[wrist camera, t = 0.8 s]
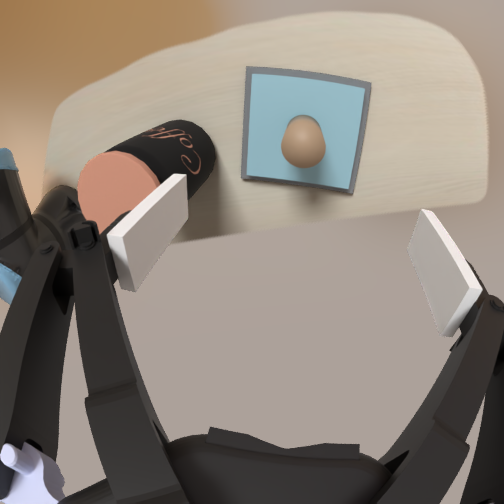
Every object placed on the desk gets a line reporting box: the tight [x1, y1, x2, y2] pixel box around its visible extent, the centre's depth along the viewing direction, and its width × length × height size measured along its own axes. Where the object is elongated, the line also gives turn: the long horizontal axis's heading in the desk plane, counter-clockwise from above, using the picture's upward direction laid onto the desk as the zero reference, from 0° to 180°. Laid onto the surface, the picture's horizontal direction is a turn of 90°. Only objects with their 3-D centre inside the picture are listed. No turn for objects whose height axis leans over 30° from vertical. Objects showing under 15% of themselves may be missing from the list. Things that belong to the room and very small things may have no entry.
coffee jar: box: [77, 120, 215, 234], centre depth 33 cm, size 11×11×18 cm
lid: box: [247, 74, 365, 189], centre depth 31 cm, size 14×14×10 cm
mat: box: [241, 66, 371, 194], centre depth 35 cm, size 16×16×1 cm
